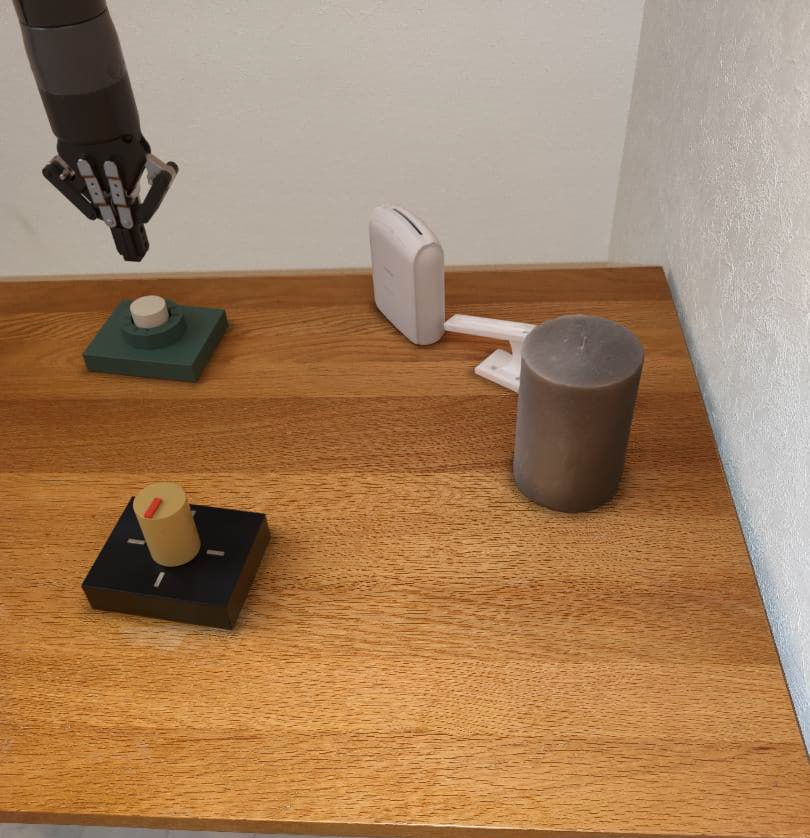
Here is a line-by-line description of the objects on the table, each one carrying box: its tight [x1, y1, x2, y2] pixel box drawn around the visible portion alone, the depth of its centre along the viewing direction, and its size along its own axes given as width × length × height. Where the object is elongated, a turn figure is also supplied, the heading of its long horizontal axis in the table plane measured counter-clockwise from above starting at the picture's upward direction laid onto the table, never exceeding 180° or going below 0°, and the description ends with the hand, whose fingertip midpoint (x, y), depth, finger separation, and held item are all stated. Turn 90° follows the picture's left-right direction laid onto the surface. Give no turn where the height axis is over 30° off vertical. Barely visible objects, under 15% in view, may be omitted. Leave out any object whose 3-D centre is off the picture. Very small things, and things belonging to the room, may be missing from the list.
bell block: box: [81, 298, 229, 384], centre depth 94 cm, size 12×10×4 cm
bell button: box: [130, 295, 169, 329], centre depth 92 cm, size 4×4×2 cm
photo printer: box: [368, 202, 446, 346], centre depth 92 cm, size 10×4×12 cm, turn 30°
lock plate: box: [80, 496, 271, 631], centre depth 73 cm, size 12×10×3 cm
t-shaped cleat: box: [444, 313, 537, 394], centre depth 87 cm, size 4×20×5 cm, turn 51°
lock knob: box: [133, 481, 201, 567], centre depth 70 cm, size 4×4×6 cm
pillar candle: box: [512, 313, 645, 513], centre depth 75 cm, size 10×10×15 cm
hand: (135, 257), depth 88 cm, fingers closed
